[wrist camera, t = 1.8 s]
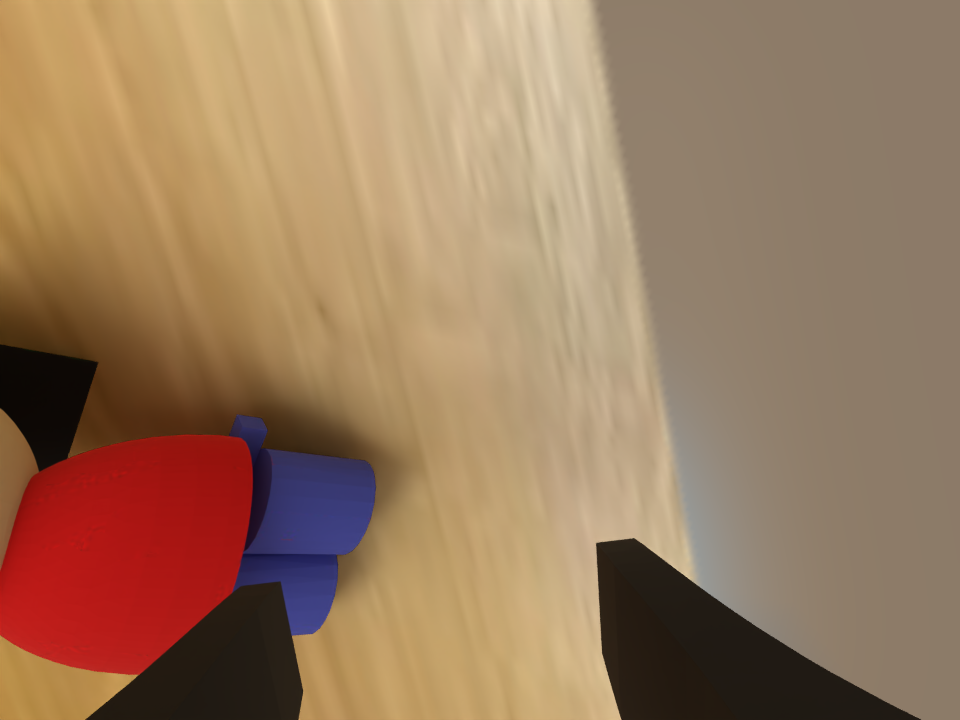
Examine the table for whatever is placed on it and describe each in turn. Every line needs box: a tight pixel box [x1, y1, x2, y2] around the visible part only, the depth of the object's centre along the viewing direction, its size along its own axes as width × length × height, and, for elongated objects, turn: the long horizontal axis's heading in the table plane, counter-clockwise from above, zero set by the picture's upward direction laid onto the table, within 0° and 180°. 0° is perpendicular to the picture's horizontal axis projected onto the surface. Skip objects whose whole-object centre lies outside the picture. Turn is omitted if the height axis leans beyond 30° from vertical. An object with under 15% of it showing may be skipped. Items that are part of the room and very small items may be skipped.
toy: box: [0, 345, 376, 675], centre depth 14 cm, size 8×8×15 cm
